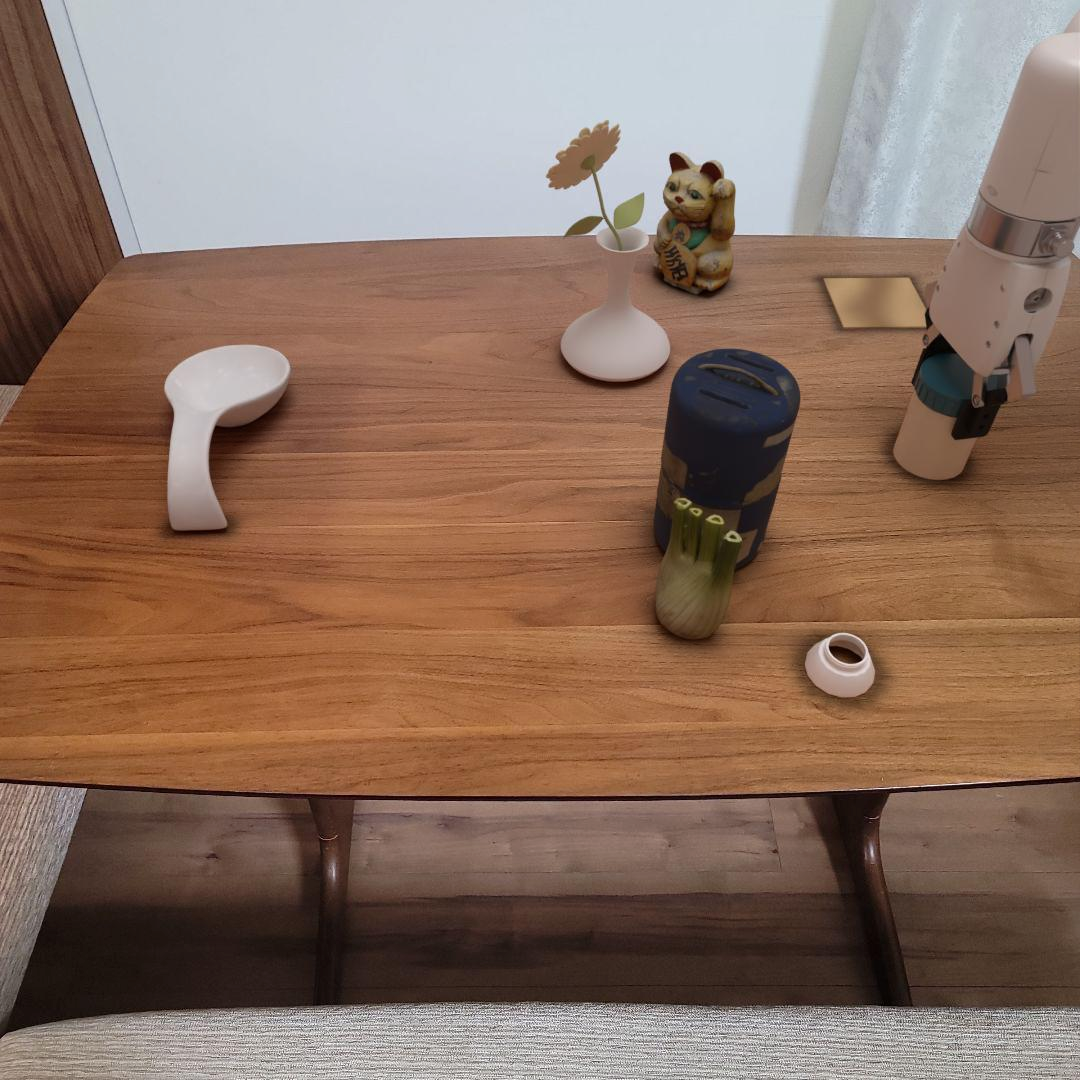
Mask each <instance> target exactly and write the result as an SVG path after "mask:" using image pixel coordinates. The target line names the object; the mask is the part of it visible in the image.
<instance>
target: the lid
mask: <svg viewBox="0 0 1080 1080" xmlns="http://www.w3.org/2000/svg"><path fill="white" fill-rule="evenodd" d="M973 375H974V370H973V369H972V368H971V367H970V366H969V365H968V364H967V363H966V362H965V361H964V360H963V359H962V358H961V356H960V355H959V354H954V353H946V354H938V355H934V356H932V357H930V358H928V359H926V360H925V361H924V362H923V364H922V366H921V367H920V370H919V372H918V374H917V377H916V380H915V382H914V384H915V387H914V390H915V391H916V394H917V396H918V397H919V398H920V400H921V401H922V402H923V403H924V404H926V405H927V406H929V407H930V408H932V409H934V410H936V411H938V412H940V413H943V414H946V415H950V416H955V417H958V415H959V412H960V410H961V408H962V405H963V403H964V401H965V400H967V399H971V398H972V387H973ZM997 380H998V375H997V376H989V377H988V384H987V391H989V390H994V389H997ZM914 390H913V391H914Z"/></svg>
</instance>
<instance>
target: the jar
mask: <svg viewBox="0 0 1080 1080" xmlns="http://www.w3.org/2000/svg"><path fill="white" fill-rule="evenodd" d="M956 420H957V417H955V416H950V415H946V414H943V413H940V412H938V411H936V410H934V409H932V408H930V407H929V406H927V405H926V404H924V403H923V402H922V401H921V400H920V398H919V397H918V396H917V394H916V391H915V390H913V393H912V395H911V399H910V402H909V404H908V407H907V410H906V413H905V415H904V417H903V420H902V423H901V427H900V428H899V431H898V434H897V437H896V440H895V443H894V446H893V449H892V451H893V456H894V457H893V458H894V459H895V461H896V462H897V463H898V464H899V466H901V467H902V468H903V469H904V470H905V471H907V472H908V473H910V474H912V475H915V476H917V477H920V478H924V479H927V480H934V481H942V480H950V479H952V478H955V477H957V476H959V475H960V474H961V473H962V472H963V471H964V469H965V466H966V464H967V462H968V460H969V458H970V456H971V453H972V451H973V449H974V446H975V444H976V442H977V440H978V437H977V438H970V439H962V440H954V439H953V437H952V436H951V432H952V429H953V427H954V424H955V422H956Z"/></svg>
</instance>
